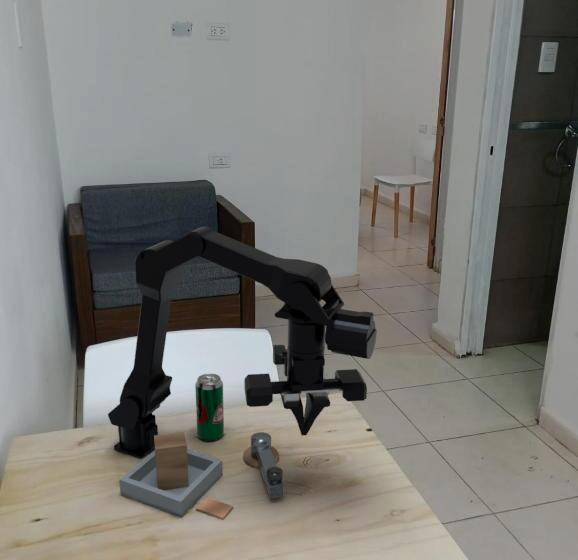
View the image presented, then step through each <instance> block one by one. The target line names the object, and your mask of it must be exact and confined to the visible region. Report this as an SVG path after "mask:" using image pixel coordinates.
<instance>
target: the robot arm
mask: <svg viewBox="0 0 578 560" xmlns="http://www.w3.org/2000/svg"><path fill="white" fill-rule="evenodd" d="M194 258H200V259H203V260H205V261H208V262H210V263H212V264H215V265H217V266H219V267H222V268H223V269H226V270H229V271H230V272H233V273H235V274H238V275H241V276H242V277H245V278H247V279H249V280H251V281H254V282H256V283H258V284H261V285H262V286H264V287H265V288H267V289H268V290H269V291H271V293H272V294H273V295H274V297H276V298H277V299H278V300H279V301H281V302H283V306H281V308H279V309H278V310H277V311H275V313H274V317H275V318H276V319H284V320H287V348H286V345H285V344H272V362H273V364H274V365H275V366H279V365H280V366H281V365H283V368H284V369H283V374H284V377H286V380H279V381H272V380H271V377H270V373H253V374H247V375H246V376H245V377H244V382H243V383H244V394H245V402H246V406H248V407H250V408H255V407H256V408H257V407H268V406H270V404H271V403H273V401H274V396H273V395H280V397H281V403H282V406H283V409H285V410H290V411H291V412H292V415H293V416H294V418H295V420H296V423H297V426H298V430H299V433H300V434H301V436H302V437H303V436H307V435H308V433H309V431H310V430H311V428H312V426H313V425H314V422H315V421H316V419H317V418H318V416H320V414H321V413H322V411H323V410H324V408H328V407H331V401H330V398H329V395H330V392H340V391H341V392H342V393H341V396H342V398H343V399H345V401H346V402H364V401H365V400H366V399H367V395H368V394H367V393H368V386H367V383H366V380H364V378H363V376H362V374H361V372H360V371H359V370H358V369H357V368H355V369H354V368H353V369H336V371H335V372H334V378H325V377H324V375H325V374H324V373H325V371H324V370H325V364H326V363H325V361H326V360H325V353H326V352H325V349H326V348H327V349H326V350H328V351H331V353H333V354H334V353H335V354H340V355H346V356H350V357H355V358H361V359H367V360H369V359H371V358H372V356H373V354H374V353H373V352H374V350H375V345H376V339H377V331H378V330H377V328H376V322H375V320H374V316H375V315H374V312H372V311H356V310H355V311H354V310H350V309H344V308H343V307H344V305H345V303H344V301H343V299H342V298H341V296H340V295H339V293H338V292H337V290H336V289H335V288H336V287H334V286H333V283H332V279H331V276H330V273H329V270H328V269H327V268H326V267H325V266H323V265H322V264H319V263H316V262H312V261H307V260H302V259H298V258H295V259H294V258H282V257H278V256H276V255H272V254H270V253H268V252H265V251H263V250H260V249H258V248H255V247H254V246H251V245H248V244H246V243H244V242H241V241H238V240H236V239H234V238H231V237H229V236H227V235H224V234H222V233H220V232H217V231H215V229H213V228H211V227H208V226H201V227H199V228H196V229H194V230H192V231H189V232H188V233H186V235H185V236H184V237H181V238H179V239H177V240H176V241H175V240H171V239H167V240H163V241H161V242H159V243H157V244H154V245H152V246H149V247H147V248H145V249H143V250H142V251H140V252H139V253H137V255H136V257H135V259H134V269H135V270H134V271H135V273H134V274H135V277H134V278H135V283H136V285H137V287H138V289H139V292H140V295H141V302H140V310H139V319H138V326H137V328H138V329H137V336H136V345H135V352H134V353H135V354H134V362H133V368H132V370H131V372H130V374H129V375H128V377H127V379H126V381H125V382H124V384H123V388H122V390H121V394H120V396H119V404H117V405H116V406H115V407H114V408H113V409H112V410H111V411H109V412H108V413H107V416H108V419H109V422H110V424H111V425H112V426H116V427H117V430H118V440H119V441H118V442H117V443H116V444H114V445H113V450H115V451H118V452H121V453H124V454H127V455H130V456H132V457H135V458H139V459H141V458H143V457H145V456H146V455H148V454H149V452H151V451H152V450H153V449H155V443H154V436H155V435H159V431H158V424H157V423H156V422H157V421H156V415H155V414H153V413H154V412H155V411H156V410H157V409H159V408H160V407H161V404H162V403H164V401H166V399H167V398H168V397H169V396H171V394H172V392H171V384H172V382H173V376H171V375H167V374H166V373H165V371H164V369H163V362H164V353H165V346H166V340H167V333H168V325H169V318H170V317H169V316H170V311H171V305H172V303H171V302H172V297H173V294H174V293H175V291H176V289H177V287H178V285H179V283H180V282H181V280H182V278H183V275H184V272H185V270H186V266H187V262H188V261H190V260H192V259H194ZM321 301H323V302H325V303H324V304H323V305H321V303H320V302H321ZM325 345H326V346H325ZM301 394H305V398H306V399H305V407H304V405H303V402H302V398H301Z"/></svg>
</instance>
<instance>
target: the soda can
mask: <svg viewBox="0 0 578 560" xmlns="http://www.w3.org/2000/svg"><path fill="white" fill-rule="evenodd" d="M221 378H222V377H221V375H218V374H217V373H204V374H201V375H199V376H198V377H197V378H196V379H197V380H196V382H195V384H194V385H195V388H194V389H195V406H196V408H195V410H196V434H197V436H198V437H199V438H200V439H201V440H203V441H205V442H214V441H217V440H219V439H221V438H222V437H223V435H224V433H225V423H224V422H225V421H224V418H225V416H224V414H225V412H224V382H223V381H222V379H221Z"/></svg>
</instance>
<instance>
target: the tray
mask: <svg viewBox="0 0 578 560" xmlns="http://www.w3.org/2000/svg"><path fill="white" fill-rule="evenodd" d="M187 460H188V482H189V487H184V488H177V489H170V490H161V489H158V486H157V474H156V458H155V449H154V450H153V451H152V452H151V453H150V454H149V453H148V454H147V456H146V457H144V459H142V460H141V461H140V462H139V463H137V464H136V465H134V467H133V468H131V469H130V470H129V471H128V472H127V473H125V474H124V475H123V476H122V477H121V478H119V479H118V481H119V490H120V491H119V492H120V496H122V497H125V498H128V499H131V500H133V501H136V502H139V503H141V504H143V505H145V506H149V507H152V508H154V509H157V510H159V511H162V512H164V513H168V514H170V515H173V516H176V517H178V518H181V519H182V518H183V517H184V516H185V515H186V514H187V513H188V511H190V510H191V509H192V507H193V506H195V504H197V502H199V500H200V499H201V498H202V497H203V496H205V494H206V493H207V492H208V491H209V490H210V489H211V488H212V487H213V486H214V484H215V483H216V482H217V481H218V480H219V479H221V478H222V476H223V460H222V459H221V458H220V459H219V458H217V457H213V456H211V455H207V454H204V453H201V452H198V451H194V450H191V449H188V448H187Z"/></svg>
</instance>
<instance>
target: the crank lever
mask: <svg viewBox="0 0 578 560" xmlns="http://www.w3.org/2000/svg"><path fill="white" fill-rule="evenodd" d="M271 446H272V436H271V434H269V433H268V432H265V431H264V432H263V431H259V432H256V433H253V434H252V435H251V436H250V447H251V456H252V457H253V458H254V459H256V460H257V461H258V464H259V467H260V468H259V469H260V473H261V475H262V479H263V482H264V484H265V488H266V490H267V495H268V496H269V499H274V498H280V497H284V486H285V485H284V481H283V480H284V470H283V469H282V467H279V466H277V463H276V462H275V460H274V457H273V455H272V452H271Z"/></svg>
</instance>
